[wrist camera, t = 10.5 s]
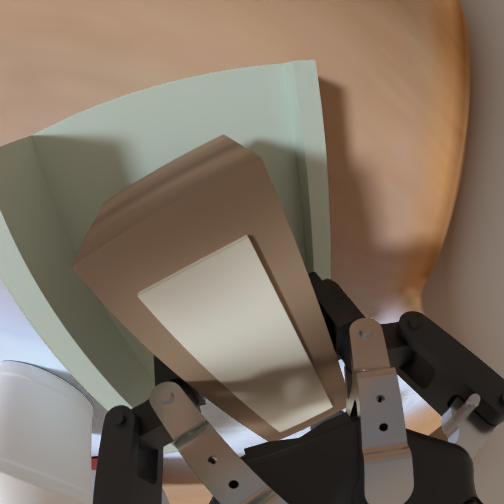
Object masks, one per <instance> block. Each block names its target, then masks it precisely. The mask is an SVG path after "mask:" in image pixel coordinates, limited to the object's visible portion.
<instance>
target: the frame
mask: <svg viewBox="0 0 504 504" xmlns="http://www.w3.org/2000/svg"><path fill="white" fill-rule="evenodd" d="M71 267H72V269H73V270H74V271H75V272H76V273H77V275H78V276H79V277H80V278H81V279H82V281H83V282H84V283H85V284H86V285H87V286H88V287H89V289H90V290H91V291H92V292H93V293H94V294H95V295H96V297H97V298H98V299H99V300H100V301H101V302H102V303H103V304H104V305H105V306H106V307H107V309H108V310H109V311H110V312H111V313H112V314H113V315H114V316H115V317H116V318H117V319H118V320H119V321H120V322H121V323H122V324H123V325H124V326H125V327H126V328H127V329H128V330H129V331H130V332H131V333H132V334H133V335H134V336H135V337H136V338H137V339H138V340H139V341H140V342H141V343H142V344H143V345H144V346H145V347H147V348H148V349H149V350H150V351H151V352H152V353H153V354H154V355H155V356H156V357H157V358H159V359H160V360H161V361H162V362H163V363H164V364H165V365H166V366H168V367H169V368H170V369H171V370H172V371H173V372H175V373H176V374H177V375H178V376H179V377H180V378H182V379H183V380H184V381H185V382H186V383H188V384H189V385H190V386H191V387H193V388H194V389H195V390H196V391H198V392H199V393H200V394H201V395H203V396H204V397H205V398H207V399H208V400H209V401H211V402H212V403H213V404H215V405H216V406H217V407H219V408H220V409H221V410H223V411H224V412H225V413H227V414H228V415H230V416H231V417H232V418H234V419H235V420H237V421H238V422H240V423H241V424H242V425H244V426H245V427H247V428H248V429H250V430H251V431H253V432H254V433H256V434H257V435H259V436H261V437H262V438H264V439H265V440H267V441H268V442H269V441H277V440H280V439H283V438H285V437H287V436H290V435H292V434H294V433H296V432H299V431H301V430H303V429H305V428H307V427H309V426H311V425H313V424H316V423H318V422H320V421H322V420H324V419H326V418H328V417H329V416H331V415H333V414H335V413H337V412H339V411H341V410H343V409H344V408H346V386H345V381H344V378H343V375H342V372H341V368H340V365H339V362H338V359H337V356H336V353H335V350H334V347H333V344H332V341H331V338H330V335H329V332H328V329H327V326H326V324H325V321H324V318H323V315H322V312H321V309H320V306H319V304H318V301H317V298H316V295H315V292H314V290H313V287H312V284H311V281H310V279H309V276H308V273H307V271H306V268H305V265H304V262H303V260H302V257H301V255H300V252H299V249H298V247H297V244H296V241H295V239H294V236H293V234H292V231H291V229H290V226H289V223H288V221H287V218H286V216H285V213H284V211H283V208H282V206H281V203H280V201H279V198H278V196H277V194H276V191H275V189H274V186H273V184H272V181H271V179H270V177H269V174H268V172H267V169H266V167H265V165H264V162H263V160H262V158H261V157H260V156H258V155H256V154H255V153H253V152H252V151H250V150H249V149H247V148H245V147H244V146H242V145H240V144H239V143H237V142H236V141H234V140H232V139H231V138H229V137H227V136H226V135H224V134H223V135H221V136H219V137H217V138H215V139H213V140H211V141H209V142H207V143H205V144H203V145H201V146H199V147H197V148H195V149H193V150H191V151H189V152H187V153H186V154H184V155H182V156H180V157H178V158H176V159H174V160H173V161H171V162H169V163H167V164H166V165H164V166H162V167H160V168H158V169H157V170H155V171H153V172H152V173H150V174H148V175H146V176H145V177H143V178H141V179H140V180H138V181H137V182H135V183H133V184H132V185H130V186H128V187H127V188H125V189H124V190H122V191H121V192H119V193H117V194H116V195H114V196H113V197H111V198H110V199H108V200H107V201H105V202H104V204H103V205H102V207H101V209H100V211H99V212H98V214H97V216H96V218H95V220H94V222H93V223H92V225H91V227H90V229H89V231H88V233H87V235H86V237H85V239H84V241H83V243H82V245H81V247H80V249H79V251H78V253H77V255H76V257H75V259H74V262H73V264H72V266H71Z"/></svg>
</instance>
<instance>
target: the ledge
mask: <svg viewBox="0 0 504 504" xmlns="http://www.w3.org/2000/svg"><path fill="white" fill-rule="evenodd" d="M223 134H224V135H226V136H227V137H229V138H231V139H232V140H234V141H236V142H237V143H239V144H240V145H242V146H244V147H245V148H247V149H249V150H250V151H252V152H253V153H255V154H256V155H258V156H260V157H261V158H262V160H263V162H264V165H265V167H266V169H267V172H268V174H269V177H270V179H271V181H272V184H273V186H274V189H275V191H276V194H277V196H278V198H279V201H280V203H281V206H282V208H283V211H284V213H285V216H286V218H287V221H288V223H289V226H290V229H291V231H292V234H293V236H294V239H295V241H296V244H297V247H298V249H299V252H300V255H301V257H302V260H303V262H304V265H305V268H306V271H307V273H311V272H316V273H317V274H318V276H319V277H320V278H321V279H322V280H324V279H327V278H328V279H330V280H331V234H330V205H329V186H328V170H327V156H326V144H325V134H324V124H323V114H322V106H321V98H320V90H319V82H318V75H317V69H316V62H315V60H299V61H290V62H286V63H282V64H270V65H260V66H252V67H244V68H237V69H230V70H224V71H219V72H213V73H208V74H203V75H198V76H193V77H189V78H184V79H180V80H176V81H172V82H168V83H164V84H160V85H157V86H153V87H150V88H146V89H143V90H140V91H137V92H133V93H130V94H127V95H124V96H121V97H118V98H116V99H113V100H110V101H107V102H105V103H102V104H99V105H97V106H94V107H92V108H89V109H87V110H84V111H82V112H80V113H77V114H75V115H73V116H70V117H68V118H66V119H64V120H62V121H59V122H57V123H55V124H53V125H51V126H49V127H47V128H45V129H43V130H41V131H39V132H37V133H35V134H34V135H32V136H29V137H26V138H23V139H20V140H17V141H15V142H12V143H9V144H7V145H4V146H1V147H0V277H1V279H2V281H3V282H4V284H5V286H6V287H7V289H8V291H9V292H10V294H11V296H12V297H13V299H14V300H15V302H16V303H17V305H18V306H19V308H20V309H21V311H22V312H23V314H24V315H25V317H26V318H27V320H28V321H29V323H30V324H31V325H32V327H33V328H34V329H35V331H36V332H37V333H38V335H39V336H40V337H41V339H42V340H43V341H44V343H45V344H46V345H47V346H48V348H49V349H50V350H51V351H52V353H53V354H54V355H55V356H56V357H57V359H58V360H59V361H60V362H61V363H62V364H63V366H64V367H65V368H66V369H67V370H68V371H69V372H70V373H71V375H72V376H73V377H74V378H75V379H76V380H77V381H78V382H79V383H80V384H81V385H82V386H83V387H84V388H85V389H86V390H87V391H88V392H89V393H90V394H91V395H92V396H93V397H94V398H95V399H96V400H97V401H98V402H99V403H100V404H101V405H102V406H103V407H104V408H105V409H106V410H107V411H109V410H110V409H111V408H113V407H115V406H118V405H125V406H127V407H129V408H130V409H132V408H134V407H136V406H138V405H140V404H142V403H144V402H145V401H147V400H148V399H149V397H150V393H151V391H152V390H153V388H154V387H155V375H154V355H153V353H152V352H151V351H150V350H149V349H148V348H147V347H145V346H144V345H143V344H142V343H141V342H140V341H139V340H138V339H137V338H136V337H135V336H134V335H133V334H132V333H131V332H130V331H129V330H128V329H127V328H126V327H125V326H124V325H123V324H122V323H121V322H120V321H119V320H118V319H117V318H116V317H115V316H114V315H113V314H112V313H111V312H110V311H109V310H108V309H107V307H106V306H105V305H104V304H103V303H102V302H101V301H100V300H99V299H98V298H97V297H96V295H95V294H94V293H93V292H92V291H91V290H90V289H89V287H88V286H87V285H86V284H85V283H84V282H83V281H82V279H81V278H80V277H79V276H78V275H77V273H76V272H75V271H74V270H73V269H72V267H71V266H72V264H73V262H74V259H75V257H76V255H77V253H78V251H79V249H80V247H81V245H82V243H83V241H84V239H85V237H86V235H87V233H88V231H89V229H90V227H91V225H92V223H93V222H94V220H95V218H96V216H97V214H98V212H99V211H100V209H101V207H102V205H103V204H104V202H105V201H107V200H108V199H110V198H111V197H113V196H114V195H116V194H117V193H119V192H121V191H122V190H124V189H125V188H127V187H128V186H130V185H132V184H133V183H135V182H137V181H138V180H140V179H141V178H143V177H145V176H146V175H148V174H150V173H152V172H153V171H155V170H157V169H158V168H160V167H162V166H164V165H166V164H167V163H169V162H171V161H173V160H174V159H176V158H178V157H180V156H182V155H184V154H186V153H187V152H189V151H191V150H193V149H195V148H197V147H199V146H201V145H203V144H205V143H207V142H209V141H211V140H213V139H215V138H217V137H219V136H221V135H223ZM204 399H207V398H205V397H204ZM174 443H175V442H172V443H170V444H168V445H166V446H164V450H163V454H167V453H174V452H179V451H178V450H177V448H176V446H175V444H174Z"/></svg>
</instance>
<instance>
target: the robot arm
mask: <svg viewBox="0 0 504 504" xmlns="http://www.w3.org/2000/svg"><path fill="white" fill-rule="evenodd" d="M308 276H309V279H310V281H311V284H312V287H313V290H314V292H315V295H316V298H317V301H318V304H319V306H320V309H321V312H322V315H323V318H324V321H325V324H326V326H327V329H328V332H329V335H330V338H331V341H332V344H333V347H334V350H335V353H336V356H337V359H338V360H340V359H342V360H343V362H344V363H345V366H344V371H345V386H346V412H345V413H342V414H340V415H338V416H336V417H333V418H331V419H329V420H326V421H324V422H322V423H321V424H319V425H318V426H316V427H315V428H314V429H312V430H311V431H309V432H308V433H306V434H305V435H303V436H302V437H300V438H295V439H287V440H277V441H269V442H266V443H263V444H259V445H256V446H252V447H249V448H245V449H244V451H245V455H244V456H242V457H239V456H238V455H237V454H236V453H235V452H234V451H233V450H232V449H231V447H230V446H229V445H228V444H227V443H226V442H225V441H224V440H223V438H222V437H221V436H220V435H219V434H218V433H217V432H216V430H215V429H214V428H213V427H212V426H211V425H210V423H209V422H208V421H207V420H206V419H205V418H204V417H203V415H202V414H201V411H200V405H205V404H206V403H205V399H204V396H203V395H201V394H200V393H199V392H198V391H196V390H195V389H194V388H193V387H191V386H190V385H189V384H188V383H186V382H185V381H184V380H183V379H182V378H180V377H179V376H178V375H177V374H176V373H175V372H173V371H172V370H171V369H170V368H169V367H168V366H166V365H165V364H164V363H163V362H162V361H161V360H160V359H159V358H157V357H156V356H155V355H154V354H153V355H154V375H155V387H154V388H153V390H152V391H151V393H150V397H149V399H148V400H147V401H145V402H144V403H142V404H140V405H138V406H136V407H134V408H132V409H130V408H129V407H127V406H125V405H118V406H115V407H113V408H111V409H110V410H109V411H108V413H107V414H106V416H105V420H104V425H103V430H102V436H101V442H100V448H99V454H98V461H97V468H96V475H95V484H94V493H93V504H162V471H163V450H164V446H166V445H168V444H170V443H172V442H175V443H174V444H175V446H176V448H177V450H178V451H179V452H180V454H181V455H182V457H183V458H184V459H185V461H186V462H187V463H188V465H189V466H190V467H191V469H192V470H193V471H194V473H195V474H196V475H197V476H198V478H199V479H200V480H201V481H202V483H203V484H204V485H205V486H206V488H207V489H208V490H209V491H210V492H211V494H212V495H213V497H212V499H211V501H210V503H209V504H483V503H482V502H481V501H480V500H479V498H478V496H477V494H476V491H475V486H474V477H473V476H474V474H473V473H474V469H473V462H472V458H473V457H474V456H475V454H476V453H477V452H478V451H479V449H480V448H481V447H482V445H483V444H484V443H485V442H486V440H487V439H488V438H489V436H490V435H491V433H492V432H493V431H494V429H496V427H498V426H499V425H500V424H501V423H502V422H503V421H504V379H503V378H501V376H499V375H498V374H497V373H496V372H495V371H494V370H492V369H491V368H490V367H488V366H487V365H486V364H485V363H484V362H483V361H482V360H480V359H479V358H478V357H477V356H475V355H474V354H473V353H472V352H471V351H469V350H468V349H467V348H466V347H464V346H463V345H462V344H460V343H459V342H458V341H457V340H456V339H454V338H453V337H452V336H451V335H449V334H448V333H447V332H445V331H444V330H443V329H441V328H440V327H439V326H438V325H436V324H435V323H434V322H432V321H431V320H430V319H428V318H427V317H426V316H425V315H423V314H422V313H419V312H415V311H409V312H406V313H404V314H403V315H402V316H401V317H400V320H399V322H395V323H389V324H379V323H378V322H377V321H375V320H373V319H370V318H365V317H364V315H363V314H362V313H361V312H360V311H359V309H358V308H357V307H356V306H355V304H354V303H353V302H352V301H351V300H350V298H349V297H347V295H346V294H345V292H343V290H342V289H341V288H340V286H339V285H338V284H337V283H336V282H334V281H332V280H330V279H328V278H327V279H324V280H322V279H321V278H320V277H319V276H318V274H317V273H316V272H311V273H308ZM397 375H399V376H400V377H401V378H402V379H403V380H404V381H405V382H406V383H407V384H408V385H409V386H410V387H411V388H412V389H413V390H414V391H415V392H417V393H418V394H419V395H420V396H421V397H422V398H423V399H424V400H425V401H426V402H427V403H428V404H429V405H430V406H431V407H432V408H433V409H434V410H436V411H437V412H438V413H439V414H440V415H441V416H442V420H441V424H442V428H443V432H444V433H446V434H447V436H448V442H447V441H443V440H440V439H437V438H434V437H430V436H427V435H424V434H421V433H418V432H415V431H412V430H409V429H406V428H405V421H404V414H403V407H402V401H401V395H400V389H399V383H398V378H397Z"/></svg>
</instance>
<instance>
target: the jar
mask: <svg viewBox="0 0 504 504" xmlns="http://www.w3.org/2000/svg"><path fill="white" fill-rule="evenodd" d="M93 410H94V409H93V407H92V405H91V403H90V402H89V400H88V399H87V398H86V397H85V396H84V395H83V394H82V393H81V392H80V391H79V390H77V389H76V388H75V387H73V386H72V385H71V384H69V383H68V382H66V381H64V380H63V379H61V378H59V377H57V376H56V375H54V374H52V373H50V372H47V371H45V370H43V369H40V368H38V367H35V366H32V365H29V364H25V363H21V362H16V361H2V362H1V363H0V504H93V493H92V473H91V434H92V421H93Z"/></svg>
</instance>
